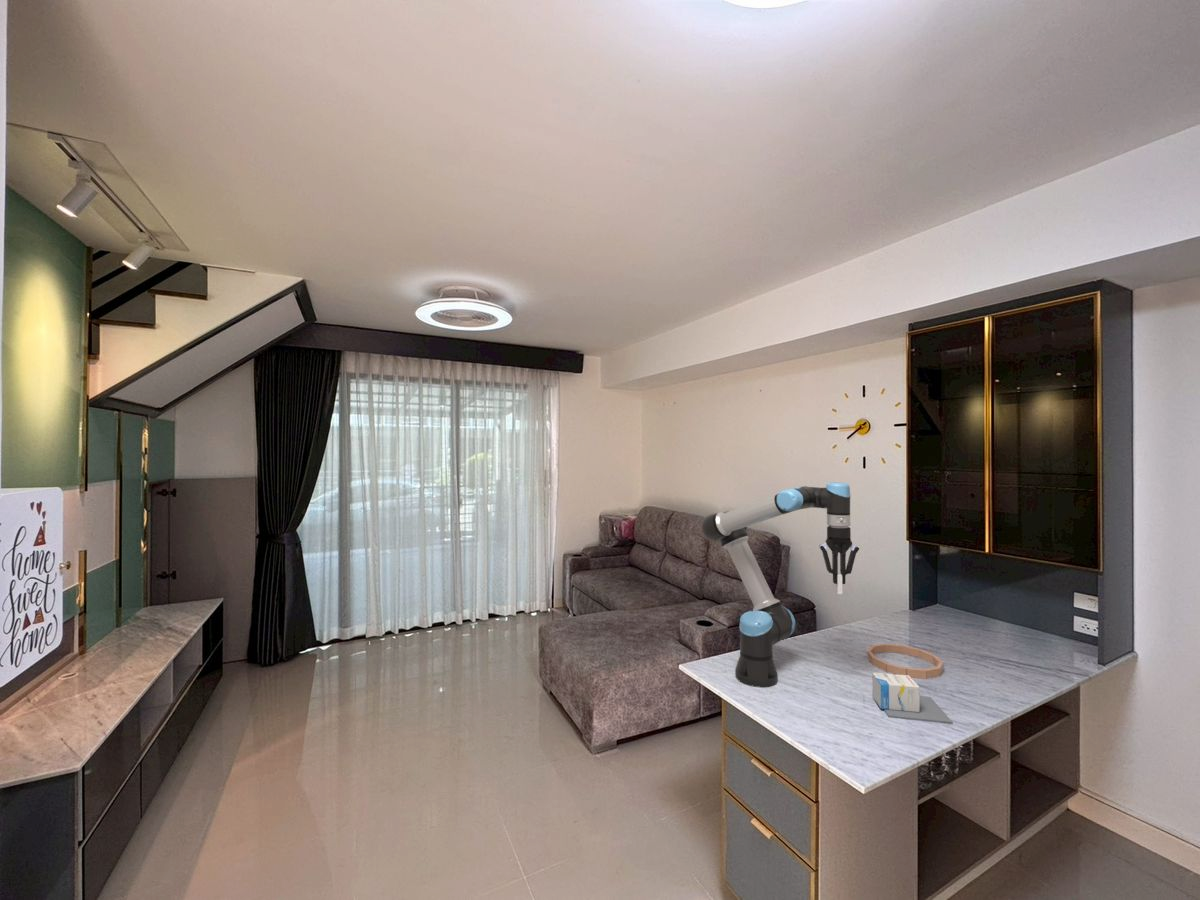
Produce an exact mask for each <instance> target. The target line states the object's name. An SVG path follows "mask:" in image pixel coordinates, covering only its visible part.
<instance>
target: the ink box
mask: <svg viewBox="0 0 1200 900" xmlns="http://www.w3.org/2000/svg"><path fill="white" fill-rule="evenodd" d="M871 678H872V698H873V699H874V701H875V703H876V704H877V705H878V707H879V708H880V710H883V709H889V710H900V711H911V712H919V709H920V696H921V693H920V686H919V684H917V683H916V681H915V680H914V678H911V677H910V676H909V675H896V674H892V673H882V672H881V673H879V672H872V677H871Z"/></svg>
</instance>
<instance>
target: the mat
mask: <svg viewBox="0 0 1200 900" xmlns="http://www.w3.org/2000/svg"><path fill="white" fill-rule="evenodd" d="M882 710H883V711H884V713H885V714H886V716H887V718H891V719H901V720H912V721H913V720H914V721H920V722H921V721H922V722H930V723H932V722H933V723H941V724H952V725H953V724H954V722H953V720H952V719H951V718H950V717H949V716H948V715H947V714H946V713H945V711H944V710H943V709H942V708H941V707H940V706H939V705H938V704H937V702H936V701H935V700H934V699H933V698H932V697H931V696H925V695H923V696H922V695H920V709H919V712H911V711H900V710H889V709H882Z"/></svg>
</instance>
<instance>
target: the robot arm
mask: <svg viewBox="0 0 1200 900" xmlns="http://www.w3.org/2000/svg"><path fill="white" fill-rule="evenodd" d="M850 487H851V486H850V485H849V484H848V483H846V482H833V481H832V482H828V483H826V486H825V487H815V486H813V487H812V486H807V485H806V486H805V485H804V486H796V487H795V488H788V489H784V490H782V491H780V492H779V493H776V494H773V495H771V496H768V497H765V498H763V499H760V500H757V501H754V502H752V503H749V504H746V505H744V506H741V507H738V508H734V509H732V510H728V511H727V510H726V511H723V512H722V511H720V512H717V513H710V514H709V515H707V516H705V517H704V518H703V520H702V521H701V524H700V530H701V533H702V535H703V536H704V538H705V539H706V540H707V541H709V542H712V543H713V542H714V543H718V542H720V544H721V547H722V548H723V549H724V550H727V552H728V553H729V556H730V558H731V560H732V562H733V564H734V567H735V569H736V570H737V573H738V575H739V577H740V579H741V581H742V583H743V585H744V588H745V589H746V591H747V593H748V596H749V598H750V600H751V602H752V606H753V609H752V610H749V611H746V612H744V613H742V614H741V616H740V618H739V628H738V629H739V657H738V661H737V663H736V666H735V670H734V672H735V673H734V674H735V675H736V676H735V678H736V679H737V680H738V681H739V680H740V681H739V682H741V683H743V684H745V683H746V684H745V685H747V684H749V686H751V685H753V686H752V687H756V686H760V687H759V688H762V687H763V688H765V687H767V686H768V687H771V686H775V685H777V684H778V680H779V679H778V677H779V676H778V675H779V674H778V671H777V668H776V665H775V662H774V657H773V653H774V652H773V646H774V645H775V644H777V643H779V642H782V641H784V640H786V639H788V638H789V637H790V636H792V635H793V634H794V632H795V629H796V619H795V617H794V614H793V613H792V611H791V610H790V609H789V608H786V607H785V606H784V605H782V602H781V600H779V599H777V598H775V597H774V595H773V593H772V590H771V588H770V586H769V584H768V582H767V580H766V578H765V576H764V573H763V572H762V570H761V568H760V566H759V564H758V561H757V560H756V558H755V555H754V553H753V551H752V549H751V548H750V547H751V546H750V545H749V543H748V540H749V535H748V527H749V526H753V525H757V524H759V523H761V522H765V521H768V520H770V519H774V518H776V517H780V516H783V515H786V514H789V513H793V512H795V511H800V510H805V509H811V508H815V509H826V525H827V527H826V539H825V542H824V543H823V544H819V545H818V547H819V549H820V550H821V552H822V556H823V559H824V563H825V568H826V571H827V572H828V573H830V574H832V583H833V584H835V593H837V594H838V595H843V585H845V584H846V576H847V575H848V574H849V575H850V574H851V573H852V571H853V567H854V563H855V559H856V556H857V554H858V551H859V550H860V548H859V547H858V546H857V545H854V544H853V542H852V540H851V535H852V534H851V529H852V528H851V527H850V526H851V496H852V495H851V488H850ZM828 548H829V550H830V551H831V556H832V557H831V558H832V559H831V560H832V565H831V562H830V558H829V553H828V551H827V550H828ZM849 549H850V552H849V555H848V560H847V559H846V556H847V552H848V550H849ZM838 558H839V561H838ZM846 561H847V562H846ZM838 567H839V568H840V569H839V568H838ZM838 569H839V571H838ZM839 572H840V573H839Z"/></svg>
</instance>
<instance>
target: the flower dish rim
mask: <svg viewBox="0 0 1200 900" xmlns="http://www.w3.org/2000/svg"><path fill="white" fill-rule="evenodd" d="M883 653H893V654H894V653H895V654H904V655H907V654H908V656H911V655H912V657H916V656H917V657H916V658H919V657H920V658H919V659H922V660H924V659H925V660H924V661H926V660H927V661H926V662H928V663H932V664H933V666H935V667H930V668H924V669H923V668H914V667H913V668H910V667H903V666H900V665H897V664H892V663H889V662H886V661H884V660H882V659H880V658H878V657H876V656H875V655H876V654H883ZM866 658H867V660H868V661H869V663H871V665H872V666H874V667H876V668H878V669H879V670H882V671H884V672H886V673H888V674H896V675H909V676H910V677H911V678H912V679H922V678H924V679H923V680H928V678H929V679H933V677H934V678H938V677H937V676H939V677H941V676H942V674H941V673H943V672H944V662H943V661H942V660H941V659H940V658H939V657H938V656H937V655H935V654H933V653H930V652H928V651H926V650H923V649H921V648H916V647H913V646H907V645H903V644H892V643H880V644H874V645H871V646H870V647H869V648H868V649H867V650H866ZM942 671H943V672H942ZM940 675H941V676H940Z"/></svg>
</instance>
